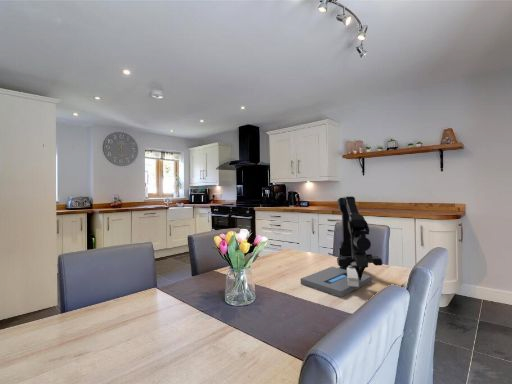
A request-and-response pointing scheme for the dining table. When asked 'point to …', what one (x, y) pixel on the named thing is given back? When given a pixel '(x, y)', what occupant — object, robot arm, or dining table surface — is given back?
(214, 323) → the dining table surface
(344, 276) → the blue bar
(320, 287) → the board
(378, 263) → the robot arm
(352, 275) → the bar
